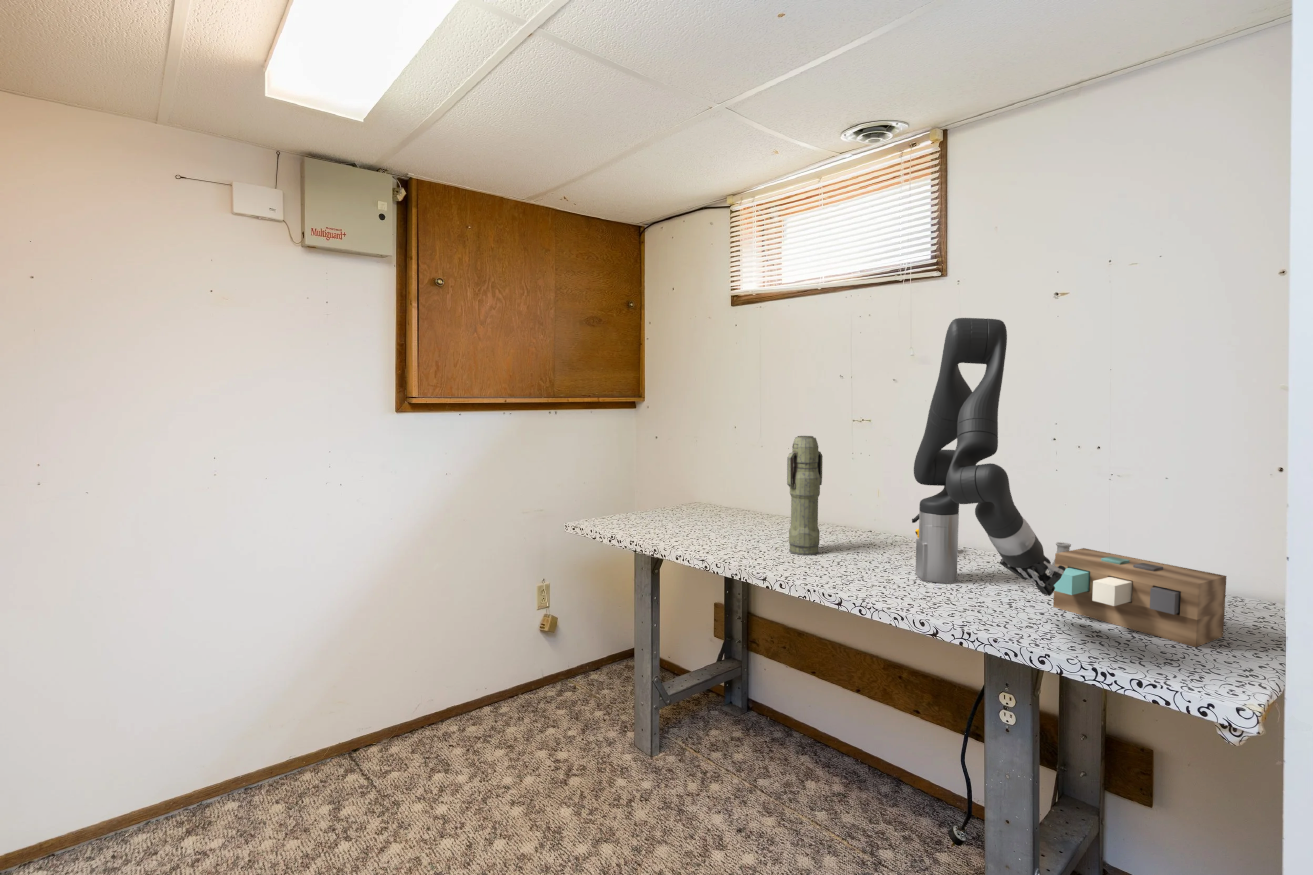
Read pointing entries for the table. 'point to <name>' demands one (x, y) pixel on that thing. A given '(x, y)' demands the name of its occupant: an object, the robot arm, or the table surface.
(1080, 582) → the key teal
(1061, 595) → the block
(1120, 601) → the key ivory
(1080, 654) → the table surface
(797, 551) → the thermos
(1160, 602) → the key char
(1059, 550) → the flask
